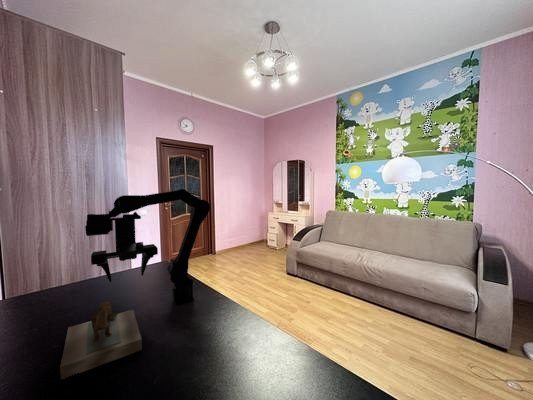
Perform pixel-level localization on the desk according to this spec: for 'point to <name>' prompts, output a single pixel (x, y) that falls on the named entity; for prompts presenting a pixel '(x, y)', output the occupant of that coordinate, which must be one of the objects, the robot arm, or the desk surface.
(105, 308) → the lion figurine
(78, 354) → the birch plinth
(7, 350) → the desk surface
